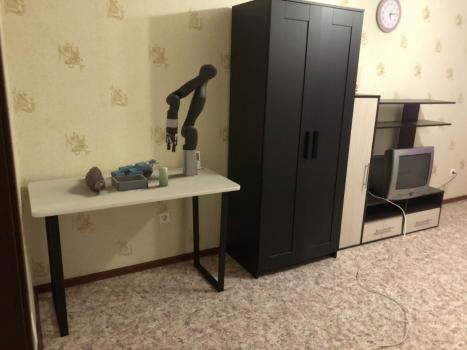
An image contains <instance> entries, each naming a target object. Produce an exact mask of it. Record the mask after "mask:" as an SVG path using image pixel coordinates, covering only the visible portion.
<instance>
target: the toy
mask: <svg viewBox="0 0 467 350" xmlns="http://www.w3.org/2000/svg"><path fill="white" fill-rule="evenodd" d="M158 164H160V161H157V160H156V159H154V158H153V159H150V160H146V161H139V162H135V164H134V165H133V164H128V165H125V166H120V167H118V169H117V170H114V171H113V170H112V171H110V175H111V178H112V177H118V176H127V175H136V174H141V175H142V176H144V177H145V178H146V179H147V178H149V177H152V175H153V173H154V170H153V166H154V165H158Z"/></svg>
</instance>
